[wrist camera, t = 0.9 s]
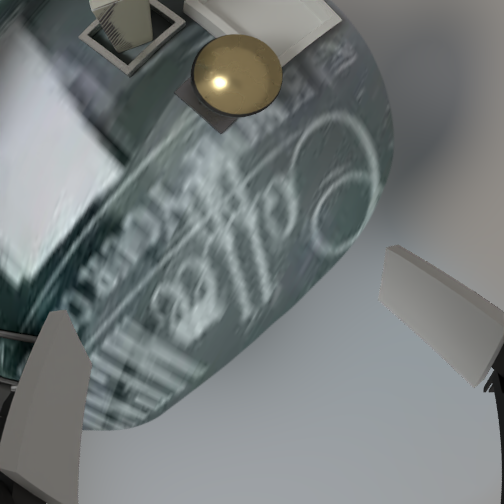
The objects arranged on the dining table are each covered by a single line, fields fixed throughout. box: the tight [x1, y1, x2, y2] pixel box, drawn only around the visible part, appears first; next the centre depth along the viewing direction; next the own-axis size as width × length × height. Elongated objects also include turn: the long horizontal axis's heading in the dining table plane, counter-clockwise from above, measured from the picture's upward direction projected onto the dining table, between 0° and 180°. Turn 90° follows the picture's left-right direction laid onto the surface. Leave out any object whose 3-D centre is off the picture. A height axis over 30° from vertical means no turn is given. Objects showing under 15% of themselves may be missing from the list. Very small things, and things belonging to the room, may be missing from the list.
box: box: [89, 0, 153, 53], centre depth 16 cm, size 5×4×13 cm
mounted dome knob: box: [174, 34, 282, 134], centre depth 23 cm, size 7×7×10 cm
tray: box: [183, 0, 342, 67], centre depth 23 cm, size 13×13×3 cm
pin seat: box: [79, 0, 186, 78], centre depth 21 cm, size 8×8×2 cm
